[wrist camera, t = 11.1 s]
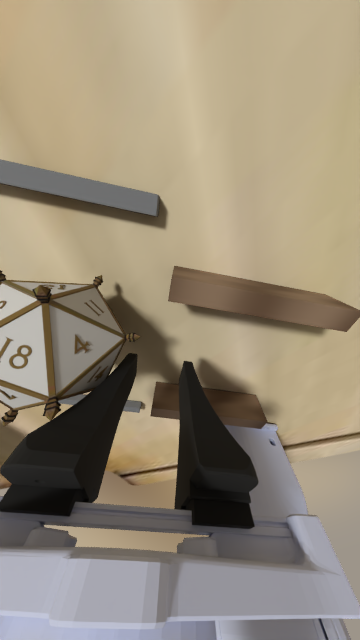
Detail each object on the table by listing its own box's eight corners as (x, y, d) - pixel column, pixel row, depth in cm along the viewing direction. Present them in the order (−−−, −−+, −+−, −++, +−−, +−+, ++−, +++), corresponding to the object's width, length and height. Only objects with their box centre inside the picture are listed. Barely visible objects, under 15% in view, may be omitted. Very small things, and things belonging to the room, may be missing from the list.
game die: (132, 278, 15) (186, 346, 8) (102, 347, 17) (121, 447, 10) (-13, 219, 9) (-331, 279, 2) (-28, 337, 11) (-190, 552, 4)
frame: (159, 197, 9) (158, 194, 9) (140, 406, 20) (139, 412, 20) (-188, 120, 8) (-223, 109, 7) (-7, 388, 19) (-15, 394, 18)
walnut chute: (325, 294, 12) (363, 312, 10) (250, 402, 19) (261, 429, 17) (174, 265, 11) (171, 276, 9) (155, 390, 19) (150, 416, 16)
